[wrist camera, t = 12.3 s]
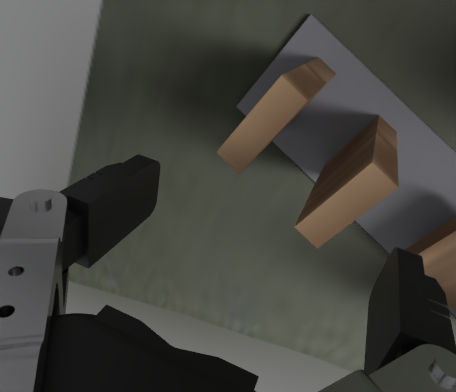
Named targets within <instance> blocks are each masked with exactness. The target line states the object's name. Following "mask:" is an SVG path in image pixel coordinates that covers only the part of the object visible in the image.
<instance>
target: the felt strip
mask: <svg viewBox="0 0 456 392" xmlns="http://www.w3.org/2000/svg"><path fill="white" fill-rule="evenodd" d="M318 57H319V58H320V59H321V60H322V61H323V62H324V63H326V64H327V65H328V66H329V67H330V68H331V69H332V70H333V71H334V72H335V73H336V75H335V76H334V77H333V78H332V79H331V80H330V81H329V82H328V83H327V84H326V85H325V87H324V88H323V89H322V90H321V91H320V92H319V93H318V94H317V95H316V96H315V97H314V98H313V99H312V100H311V101H310V102H309V103H308V105H307V106H306V107H305V108H304V109H303V110H302V111H301V112H300V113H299V114H298V115H297V116H296V117H295V118H294V119H293V120H292V121H291V123H290V124H289V125H288V126H287V127H286V128H285V129H284V130H283V131H282V132H281V133H280V134H279V135H278V136H277V137H276V138H275V139H274V140H273V141H272V142H274V143H275V144H276V145H277V146H278V147H279V148H280V149H281V150H282V151H283V152H284V153H285V154H286V155H287V156H288V157H289V158H290V159H291V160H292V161H293V162H294V163H295V164H297V165H298V166H299V167H300V168H301V169H302V170H303V171H304V172H305V173H306V174H307V175H308V176H309V177H310V178H311V179H312V180H313V181H314V182H315V183H316V181H317V179H318V177H319V175H320V173H321V170H322V168H323V166H324V164H325V163H326V162H328V161H329V160H330V159H331V158H332V157H333V156H334V155H335V154H336V153H337V152H339V151H340V150H341V149H342V148H343V147H344V146H345V145H346V144H347V143H349V142H350V141H351V140H352V139H353V138H354V137H355V136H356V135H357V134H358V133H360V132H361V131H362V130H363V129H364V128H365V127H366V126H367V125H368V124H369V123H371V122H372V121H373V120H374V119H375V118H376V117H377V116H378V115H380V116H381V117H382V118H383V119H384V120H385V121H386V122H387V123H388V124H389V125H390V126H391V127H392V128H393V129H394V130H395V131H396V132H397V158H398V185H399V188H397V189H396V190H395V191H393V192H392V193H391V194H390V195H388V196H387V197H386V198H384V199H383V200H382V201H380V202H379V203H378V204H376V205H375V206H374V207H372V208H371V209H370V210H368V211H367V212H366V213H364V214H363V215H362V216H360V217H359V218H358V219H356V220H355V221H356V222H357V223H358V224H359V225H360V226H361V227H362V228H363V229H364V230H365V231H367V232H368V233H369V234H370V235H371V236H372V237H373V238H374V239H375V240H376V241H377V242H378V243H379V244H380V245H381V246H382V247H383V248H384V249H385V250H386V251H387V252H388V253H390V254H391V252H392V250H393V249H394V248H395V247H398V248H401V249H404V250H405V249H407V248H408V247H410V246H411V245H413V244H414V243H416V242H417V241H419V240H421V239H422V238H424V237H425V236H427V235H428V234H430V233H432V232H433V231H435V230H436V229H438V228H439V227H441V226H443V225H444V224H446V223H447V222H449V221H450V220H452V219H454V218H455V217H456V152H455V151H454V150H453V149H452V148H451V147H450V146H448V145H447V144H446V143H445V142H444V141H443V140H442V139H441V138H440V137H439V136H438V135H437V134H436V133H435V132H434V131H433V130H432V129H431V128H430V127H429V126H428V125H427V124H426V123H425V122H423V121H422V120H421V119H420V118H419V117H418V116H417V115H416V114H415V113H414V112H413V111H412V110H411V109H410V108H409V107H408V106H407V105H406V104H405V103H404V102H403V101H402V100H401V99H400V98H398V97H397V96H396V95H395V94H394V93H393V92H392V91H391V90H390V89H389V88H388V87H387V86H386V85H385V84H384V83H383V82H382V81H381V80H380V79H379V78H378V77H377V76H376V75H374V74H373V73H372V72H371V71H370V70H369V69H368V68H367V67H366V66H365V65H364V64H363V63H362V62H361V61H360V60H359V59H358V58H357V57H356V56H355V55H354V54H353V53H352V52H351V51H349V50H348V49H347V48H346V47H345V46H344V45H343V44H342V43H341V42H340V41H339V40H338V39H337V38H336V37H335V36H334V35H333V34H332V33H331V32H330V31H329V30H328V29H327V28H326V27H324V26H323V25H322V24H321V23H320V22H319V21H318V20H317V19H316V18H315V17H314V16H313V15H312V14H311V15H310V16H309V17H308V18H307V20H306V21H305V22H304V23H303V25H302V26H301V27H300V28H299V30H298V31H297V32H296V33H295V34H294V36H293V37H292V38H291V39H290V41H289V42H288V43H287V44H286V46H285V47H284V48H283V49H282V50H281V52H280V53H279V54H278V55H277V57H276V58H275V59H274V60H273V62H272V63H271V64H270V65H269V66H268V68H267V69H266V70H265V71H264V73H263V74H262V75H261V76H260V78H259V79H258V80H257V81H256V83H255V84H254V85H253V86H252V87H251V89H250V90H249V91H248V92H247V94H246V95H245V96H244V97H243V99H242V100H241V101H240V102H239V103H238V105H237V106H236V107H237V108H238V109H239V110H240V111H241V112H242V113H243V114H244V115H245V116H247V115H248V114H249V113H250V112H251V110H252V109H253V108H254V107H255V106H256V105H257V103H258V102H259V101H260V100H261V99H262V97H263V96H264V95H265V94H266V93H267V92H268V90H269V89H270V88H271V87H272V86H273V85H274V83H275V82H276V81H277V80H278V79H279V77H280V76H281V75H283V74H285V73H287V72H289V71H291V70H293V69H295V68H297V67H300V66H302V65H304V64H306V63H308V62H310V61H312V60H314V59H316V58H318ZM447 308H448V309H449V311H450V312H451V313H452V314H453V315H454V316H455V317H456V312H455V311H454V310H453V309H452V308H450V307H449V306H448V307H447Z"/></svg>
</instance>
